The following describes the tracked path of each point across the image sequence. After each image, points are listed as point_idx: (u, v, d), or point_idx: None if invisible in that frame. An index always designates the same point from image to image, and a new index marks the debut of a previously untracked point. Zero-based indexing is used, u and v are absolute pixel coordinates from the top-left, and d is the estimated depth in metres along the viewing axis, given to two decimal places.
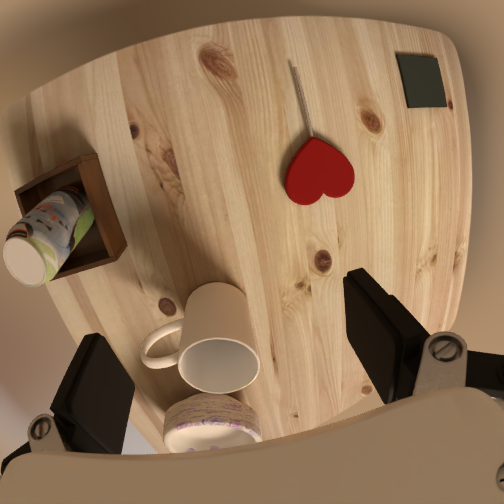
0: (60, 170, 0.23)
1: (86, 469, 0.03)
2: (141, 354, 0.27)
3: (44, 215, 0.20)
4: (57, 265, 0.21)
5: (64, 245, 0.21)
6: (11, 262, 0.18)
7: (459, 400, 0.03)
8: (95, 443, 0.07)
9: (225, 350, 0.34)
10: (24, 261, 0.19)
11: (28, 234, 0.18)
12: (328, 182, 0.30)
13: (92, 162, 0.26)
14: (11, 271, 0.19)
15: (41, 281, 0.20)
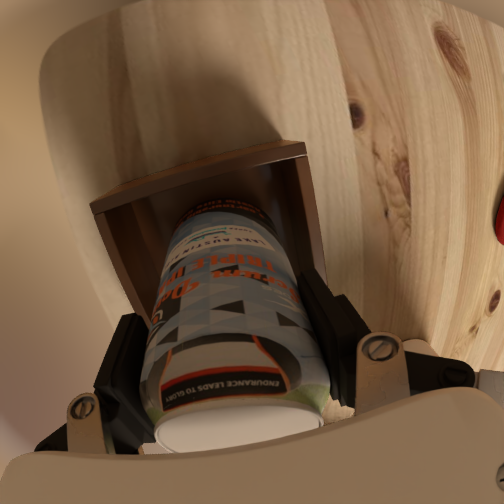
0: (245, 165, 0.12)
1: (86, 469, 0.03)
2: None
3: (277, 295, 0.09)
4: None
5: None
6: (186, 440, 0.07)
7: (459, 400, 0.03)
8: (136, 422, 0.07)
9: None
10: (244, 436, 0.07)
11: (288, 378, 0.07)
12: None
13: None
14: (174, 449, 0.07)
15: None
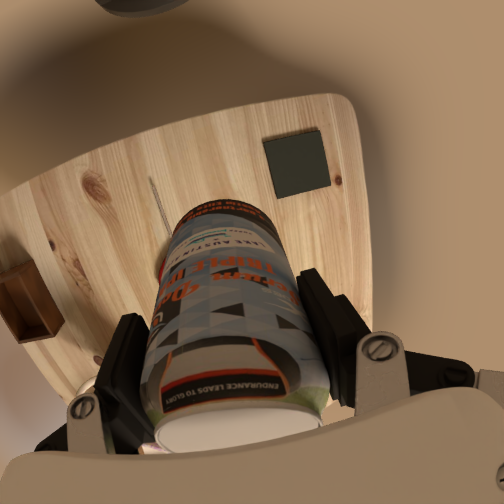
0: (9, 278, 0.30)
1: (86, 469, 0.03)
2: None
3: (277, 298, 0.09)
4: None
5: None
6: (186, 441, 0.07)
7: (459, 400, 0.03)
8: (136, 422, 0.07)
9: None
10: (243, 438, 0.07)
11: (287, 381, 0.07)
12: None
13: (29, 269, 0.33)
14: (174, 450, 0.07)
15: None
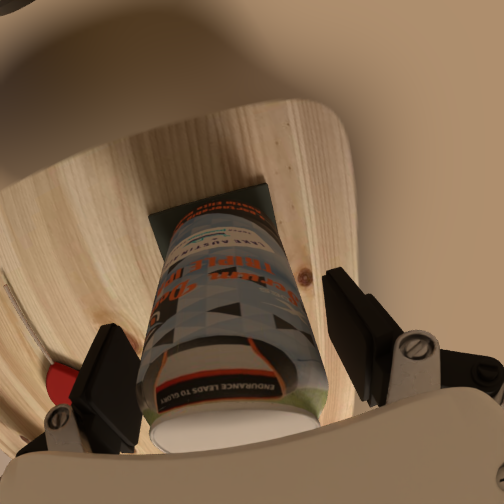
0: None
1: (86, 469, 0.03)
2: None
3: (275, 298, 0.09)
4: None
5: None
6: (181, 442, 0.07)
7: (459, 400, 0.03)
8: (112, 433, 0.07)
9: None
10: (240, 440, 0.07)
11: (283, 382, 0.06)
12: None
13: None
14: (170, 451, 0.07)
15: None
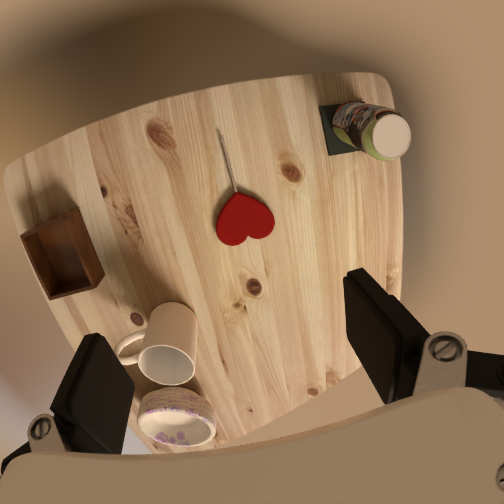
0: (52, 224, 0.33)
1: (86, 469, 0.03)
2: None
3: None
4: None
5: None
6: (380, 133, 0.26)
7: (459, 400, 0.03)
8: (95, 444, 0.07)
9: (179, 353, 0.43)
10: (393, 135, 0.26)
11: (401, 117, 0.25)
12: (251, 228, 0.40)
13: (75, 216, 0.35)
14: (374, 142, 0.26)
15: (400, 155, 0.27)
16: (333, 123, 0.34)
